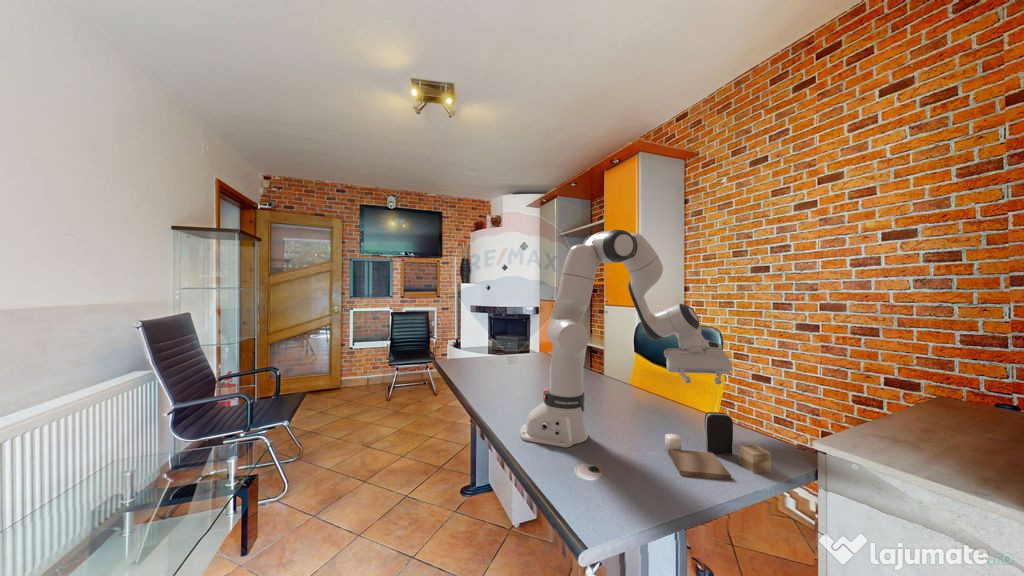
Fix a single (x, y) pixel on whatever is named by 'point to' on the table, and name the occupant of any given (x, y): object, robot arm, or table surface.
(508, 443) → the table surface
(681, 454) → the walnut pad
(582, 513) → the table surface
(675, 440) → the plastic capsule
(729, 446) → the battery charger
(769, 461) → the oak cube
